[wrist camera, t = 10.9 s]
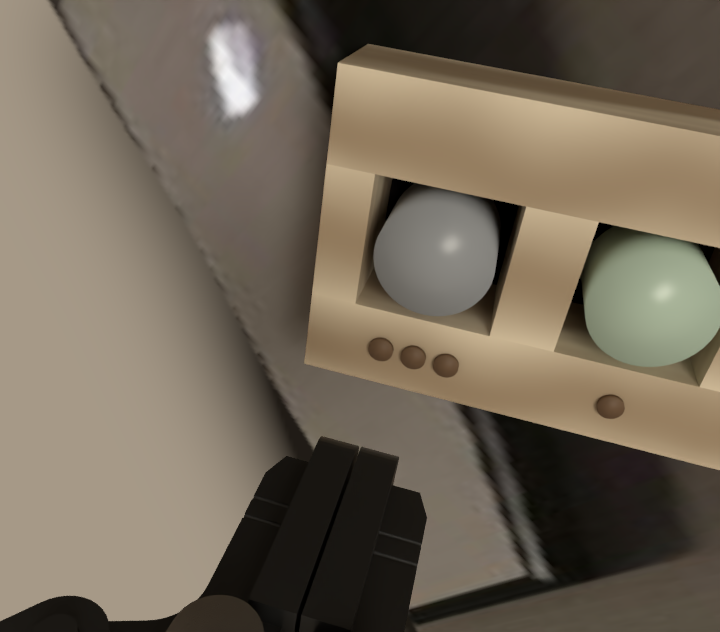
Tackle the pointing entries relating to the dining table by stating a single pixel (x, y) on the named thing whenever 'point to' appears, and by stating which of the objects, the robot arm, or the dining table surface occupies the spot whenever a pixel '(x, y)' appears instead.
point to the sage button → (649, 297)
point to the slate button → (438, 250)
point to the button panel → (516, 242)
